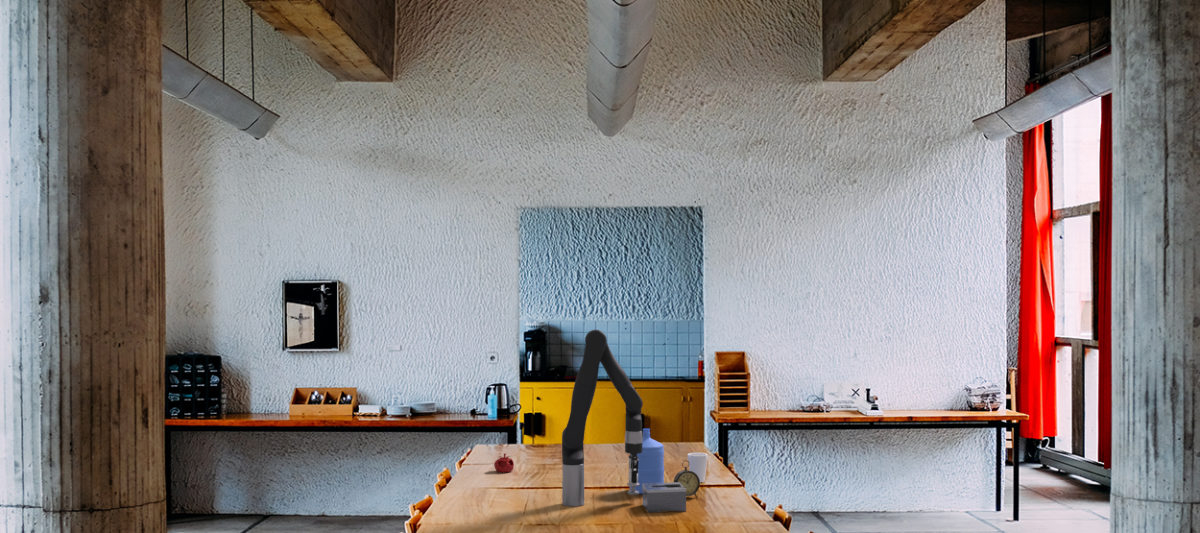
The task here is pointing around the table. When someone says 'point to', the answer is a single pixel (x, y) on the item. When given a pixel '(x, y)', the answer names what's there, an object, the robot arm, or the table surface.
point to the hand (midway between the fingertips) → (633, 481)
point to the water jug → (650, 462)
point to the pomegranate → (504, 464)
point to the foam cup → (698, 464)
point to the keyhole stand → (664, 497)
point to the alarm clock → (688, 481)
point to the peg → (632, 485)
